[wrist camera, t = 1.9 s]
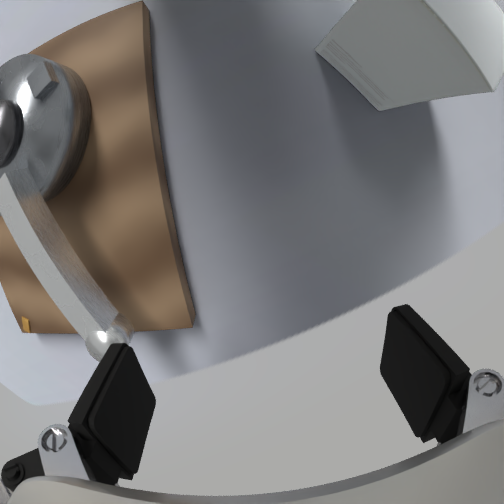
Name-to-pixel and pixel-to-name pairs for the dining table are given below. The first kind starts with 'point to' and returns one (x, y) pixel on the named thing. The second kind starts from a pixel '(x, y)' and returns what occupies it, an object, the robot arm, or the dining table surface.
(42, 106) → the faucet lever handle
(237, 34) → the dining table surface
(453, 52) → the supplement box
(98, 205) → the wooden base
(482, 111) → the dining table surface
